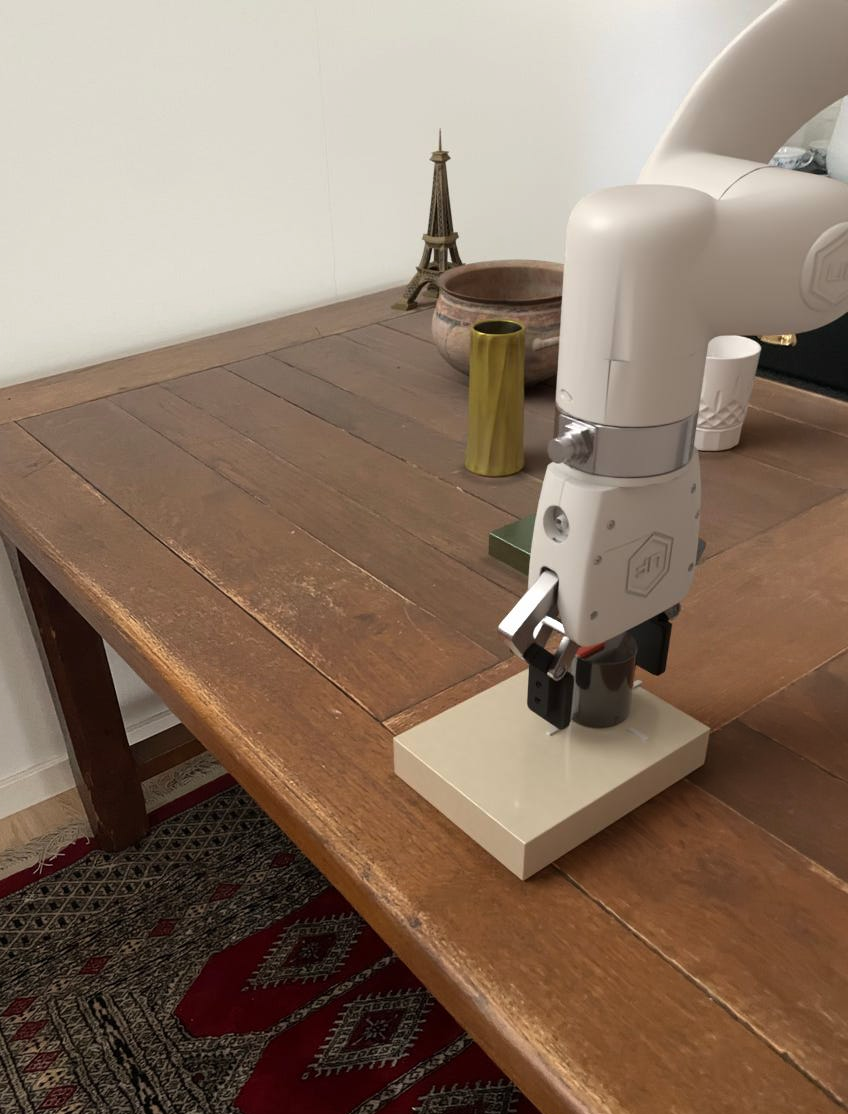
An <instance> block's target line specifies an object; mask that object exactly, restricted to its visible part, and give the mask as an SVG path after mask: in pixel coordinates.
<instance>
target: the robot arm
mask: <svg viewBox="0 0 848 1114" xmlns="http://www.w3.org/2000/svg"><path fill="white" fill-rule="evenodd" d="M847 96H848V0H776V1H775V2H773V3H772V4H771V5H770V6H768V8H767V9H765V10H764V11H763V12H762V13H761V14H760V15H759V16H758V17H756V18H755V19H754V20H752V21H751V22H750V23H749V24H748V25H746V26H745V28H743V29H742V30H741V31H740V32H739V33H738V34H737V35H736V36H735V37H734V38H733V39H732V40H731V41H729V42H728V43H727V45H725V46H724V47H723V49H721V51H720V52H719V53H718V54H717V55H716V56H715V57H714V58H713V59H712V61H711V62H710V63H709V64H708V65H707V66H706V68H705V69H704V70H703V71H702V73H701V74H700V75H699V77H698V78H697V79H696V80H695V82H694V83H693V84H692V86H691V88H689V91H688V92H687V93H686V95H685V96H684V98H683V100H682V102H681V103H680V105H679V106H678V107H677V109H676V111H675V113H673V115H672V118H671V119H670V121H669V122H668V124H667V126H666V127H665V129H664V131H663V133H662V134H661V136H660V137H659V139H658V141H657V143H656V144H655V146H654V148H653V149H652V151H651V153H650V155H649V156H648V158H647V160H646V161H645V163H644V165H643V167H642V170H641V171H640V173H639V175H638V178H637V180H636V182H635V184H624V185H615V186H609V187H605V188H602V189H598V190H595V191H593V192H590V193H589V194H587V195H584V196H583V197H582V198H581V199H580V200H578V202H577V203H576V204H575V206H574V207H573V209H572V211H571V213H570V215H569V218H568V221H567V225H566V233H565V243H564V259H563V264H564V275H563V292H562V308H561V325H560V341H559V357H558V373H557V374H556V388H555V389H556V390H555V404H554V419H553V436H552V439H551V440H549V441H548V443H547V445H546V450H547V455H548V457H549V459H550V460H551V462H550V463H549V464H548V465H547V467H546V471H545V474H544V477H543V482H542V486H541V491H540V495H539V498H538V504H537V509H536V513H537V514H536V520H535V526H534V532H533V539H532V547H531V555H530V565H529V576H528V579H527V580H528V581H527V590H526V592H525V594H524V595H523V596H522V597H521V598H520V599H519V600H518V602H517V603H516V604H515V605H514V607H512V609H511V610H510V611H509V613H508V614H507V615H506V616H505V617H504V618H503V620H502V621H501V622H500V623H499V625H498V627H497V631H496V632H497V635H498V636H499V638H500V639H501V640H502V642H503V643H504V644H505V645H506V647H507V648H509V652H510V653H511V654H513V655H514V656H516V657H517V658H518V659H520V660H522V661H524V662H525V663H527V664H528V668H529V675H528V693H527V706H528V708H529V709H530V710H531V711H532V712H534V713H535V714H537V715H538V716H540V717H541V718H543V719H544V720H546V721H547V722H549V723H550V724H552V725H553V726H555V727H556V728H558V729H559V730H563V729H565V728H567V727H568V726H569V725H570V722H571V711H572V700H573V688H574V676H573V675H572V674H571V673H569V672H568V669H569V667H570V665H571V663H572V661H573V659H574V657H575V655H576V653H577V651H578V649H579V647H580V646H583V647H590V646H594V645H597V644H600V643H602V642H604V641H607V640H609V639H611V638H613V637H615V636H617V635H619V634H621V633H623V632H625V631H626V632H628V633H629V634H631V635H632V636H633V637H634V638H635V640H636V641H637V644H638V654H637V662H636V667H638V668H640V669H642V670H643V671H645V672H647V673H649V674H650V675H653V676H656V677H659V676H661V675H663V674H664V673H665V672H666V669H667V662H668V655H669V650H670V649H669V648H670V644H671V643H670V642H671V635H672V629H673V623H672V622H670V621H673V620H675V619H677V617H678V616H679V615H680V613H681V609H682V605H681V603H680V602H681V601H683V600H684V599H685V598H686V597H687V596H688V594H689V593H690V592H691V589H692V586H693V582H694V576H695V570H696V567H697V564H698V562H699V561H700V559H701V557H702V555H703V553H704V551H705V549H706V547H707V541H706V540H705V539H703V538H701V537H699V536H700V525H701V523H700V522H701V508H702V507H701V506H702V505H701V504H702V478H701V464H700V457H699V456H700V455H699V450H697V448H696V447H695V446H694V441H695V434H696V427H697V420H698V413H699V404H700V397H701V391H702V384H703V377H704V370H705V363H706V356H707V349H708V343H709V342H710V341H711V340H712V339H713V338H715V337H718V336H762V337H763V336H765V337H766V336H770V337H771V336H788V335H789V336H790V335H797V334H802V333H807V332H811V331H813V330H816V329H819V328H822V327H824V326H826V325H829V324H831V323H832V322H834V321H836V320H838V319H839V318H842V316H844V315H845V314H847V313H848V184H847V183H845V182H842V181H840V180H837V179H835V178H831V177H827V176H824V175H820V174H815V173H810V172H805V171H799V170H795V169H789V168H786V167H782V166H776V165H772V164H770V162H771V161H772V159H773V158H774V157H775V155H776V154H777V153H778V152H779V151H780V149H782V147H784V145H785V144H786V143H787V142H788V140H789V139H790V138H792V137H793V136H794V135H795V134H796V133H797V132H798V131H800V129H802V128H803V126H804V125H805V124H807V123H808V122H809V121H811V120H812V119H813V118H814V117H816V116H817V115H818V114H820V113H821V112H822V111H824V110H825V109H827V108H828V107H830V106H832V105H833V104H834V103H836V102H838V101H839V100H841V99H843V98H845V97H847ZM558 616H559V617H558ZM553 631H555V632H557V633H558V634H560V635H562V636H563V637H562V639H561V641H560V643H559V645H558V646H557V648H556V650H555V652H554V654H553V653H551V652H550V651H549V650H547V649H546V648H545V647H546V646H547V643H548V641H549V639H550V637H551V635H552V633H553Z"/></svg>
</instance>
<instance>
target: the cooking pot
mask: <svg viewBox="0 0 848 1114" xmlns="http://www.w3.org/2000/svg"><path fill="white" fill-rule="evenodd" d="M563 275H564V263H562V262H561V263H560V262H556V261H549V260H541V259H540V260H538V259H519V258H517V259H516V258H515V259H495V260H485V261H478V262H471V263H466V264H465V265H462V266H459V267H455V268H452V269H450V270H448V271H446V272H444V273H443V274H441V275H440V276H439V278H438V281H437V282H438V284H439V286H440V288H442V290H441V293H440V295H439V297H438V298H437V300H436V304H435V307H434V311H433V314H432V320H431V336H432V340H433V342H434V345H435V347H436V350H437V351H438V354H439V355H440V357H442V359H443V360H444V361H445V362H446V363H447V364H448V365H449V366H450V367H452V369H455V370H456V371H457V372H460V373H461V374H463V375H464V376H467V377H468V378H470V330H471V326H472V325H473V324H474V323H476V322H478V321H482V320H487V319H511V320H515V321H519V322H521V323H523V324H524V325H525V327H526V335H525V360H524V390H526V389H529V388H531V387H534V386H535V385H537V384H539V383H541V382H543V381H545V380H548V379H549V378H551V377H554V376H556V375H557V373H558V357H559V341H560V325H561V308H562V292H563Z"/></svg>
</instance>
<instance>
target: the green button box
mask: <svg viewBox="0 0 848 1114" xmlns="http://www.w3.org/2000/svg"><path fill="white" fill-rule="evenodd" d="M536 514H537V512H535V513H533V514H529V515H528V516H526V517H523V518H521V519H518V520H516V521H514V522H511V523H508V524H506V525H504V526H502V527H499V528H497V529H495V530H492V531H490V532H489V533H488V555H489V556H490V557H492V558H494V559H496V560H497V561H499V562H501V563H503V564H505V565H507V566H509V567H510V568H512V569H514V570H516V571H517V572H520V573H521V574H523V575H525V576H527V577H529V565H530V555H531V547H532V539H533V532H534V526H535V520H536Z"/></svg>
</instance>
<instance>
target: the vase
mask: <svg viewBox="0 0 848 1114" xmlns="http://www.w3.org/2000/svg"><path fill="white" fill-rule="evenodd" d="M525 335H526V327H525V325H524V324H523V323H521V322H519V321H515V320H511V319H487V320H482V321H478V322H476V323H474V324H473V325H472V326H471V330H470V377H469V381H468V382H469V383H468V384H469V385H468V421H467V422H468V423H467V424H468V425H467V437H466V450H465V457H464V467H465V468H466V469H467V470H468V471H469V472H471V473H473V474H474V475H477V476H482V477H487V478H501V477H507V476H511V475H515V474H517V473H518V472H520V471H521V470H522V469H523V468H524V466H525V456H524V430H525V429H524V428H525V426H524V425H525V389H524V360H525Z"/></svg>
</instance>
